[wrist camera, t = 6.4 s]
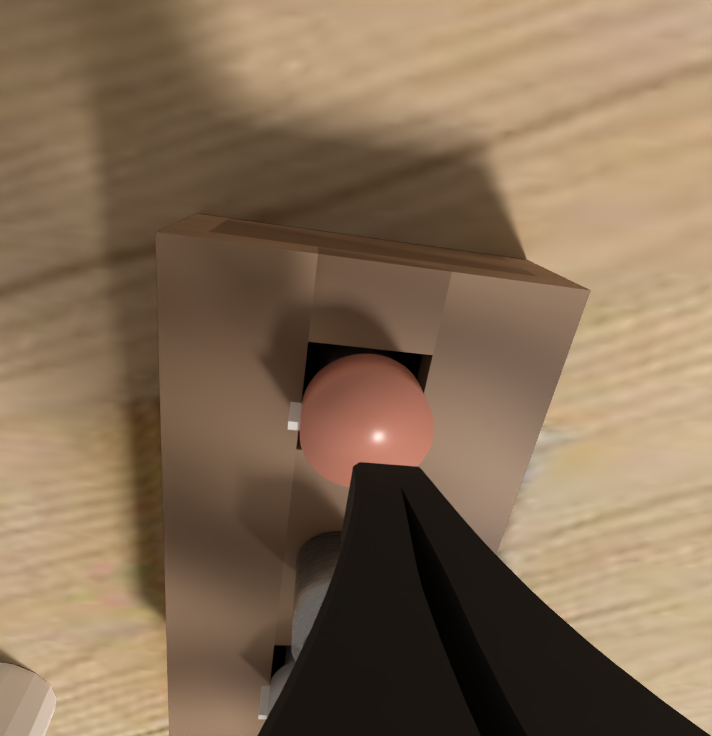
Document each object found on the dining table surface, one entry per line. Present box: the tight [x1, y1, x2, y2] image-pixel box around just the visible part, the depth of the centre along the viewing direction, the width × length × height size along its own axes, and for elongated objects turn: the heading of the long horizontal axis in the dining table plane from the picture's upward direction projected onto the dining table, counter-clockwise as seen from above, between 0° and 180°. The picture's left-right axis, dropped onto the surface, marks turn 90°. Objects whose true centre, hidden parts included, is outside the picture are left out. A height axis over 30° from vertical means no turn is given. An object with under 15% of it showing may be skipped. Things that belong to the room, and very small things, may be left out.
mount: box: [155, 214, 591, 736], centre depth 17 cm, size 20×11×4 cm, turn 172°
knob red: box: [287, 343, 434, 487], centre depth 14 cm, size 3×4×5 cm
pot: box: [291, 531, 342, 661], centre depth 13 cm, size 3×3×4 cm
